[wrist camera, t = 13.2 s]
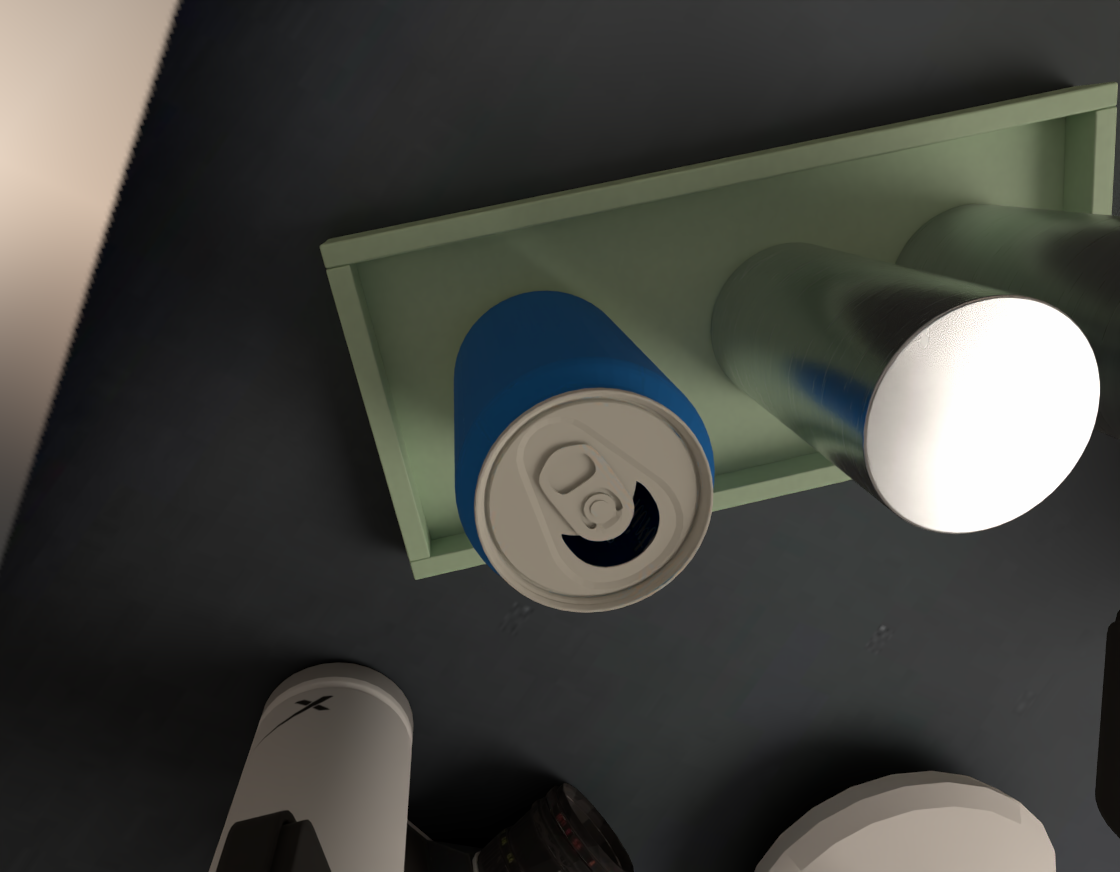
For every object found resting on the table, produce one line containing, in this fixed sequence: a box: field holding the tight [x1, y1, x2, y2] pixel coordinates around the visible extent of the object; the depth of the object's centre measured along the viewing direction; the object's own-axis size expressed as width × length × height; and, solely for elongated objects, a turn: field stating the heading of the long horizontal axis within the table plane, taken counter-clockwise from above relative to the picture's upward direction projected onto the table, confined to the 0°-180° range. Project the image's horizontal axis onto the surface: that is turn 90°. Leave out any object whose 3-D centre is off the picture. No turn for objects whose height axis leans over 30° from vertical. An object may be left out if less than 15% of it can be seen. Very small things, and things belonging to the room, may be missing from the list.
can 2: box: [896, 204, 1120, 440], centre depth 25 cm, size 6×6×12 cm
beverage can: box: [454, 290, 715, 612], centre depth 24 cm, size 6×6×12 cm
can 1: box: [710, 242, 1100, 534], centre depth 25 cm, size 6×6×12 cm
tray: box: [320, 82, 1118, 580], centre depth 30 cm, size 13×28×2 cm, turn 101°
